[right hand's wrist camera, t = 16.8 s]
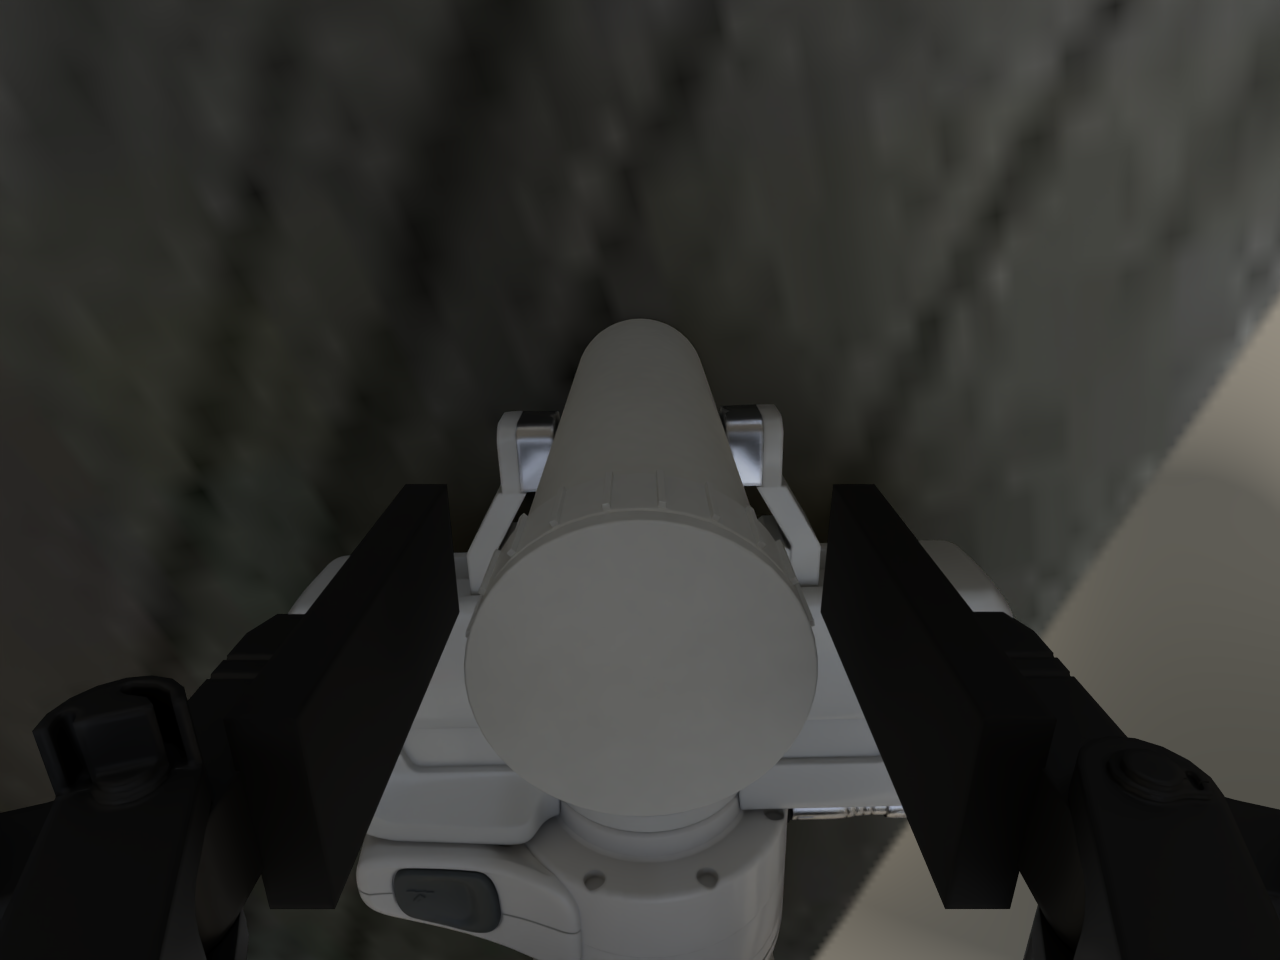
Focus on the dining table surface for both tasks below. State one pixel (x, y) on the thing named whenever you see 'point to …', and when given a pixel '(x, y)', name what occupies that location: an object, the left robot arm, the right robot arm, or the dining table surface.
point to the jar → (640, 415)
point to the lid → (640, 647)
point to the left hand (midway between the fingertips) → (637, 412)
